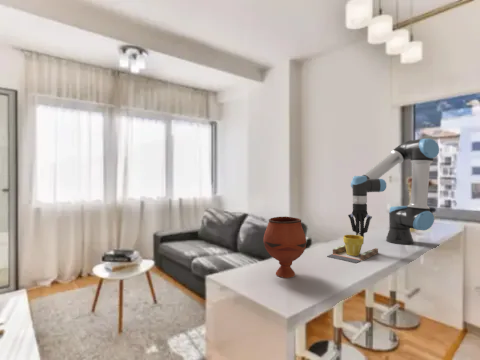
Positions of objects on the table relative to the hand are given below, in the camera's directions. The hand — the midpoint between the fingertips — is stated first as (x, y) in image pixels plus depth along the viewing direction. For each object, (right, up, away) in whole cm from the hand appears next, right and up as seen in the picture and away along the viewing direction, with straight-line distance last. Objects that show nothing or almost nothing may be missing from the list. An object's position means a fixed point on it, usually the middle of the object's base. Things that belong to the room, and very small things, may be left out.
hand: (360, 244), depth 165 cm
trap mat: (-14, -5, -13) cm, 19 cm away
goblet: (-48, -6, -35) cm, 60 cm away
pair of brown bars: (-4, -4, -3) cm, 7 cm away
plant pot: (-6, -5, -5) cm, 9 cm away
